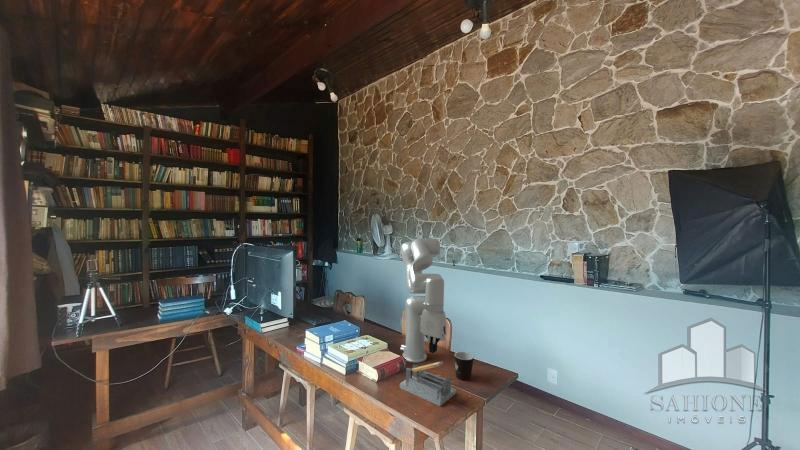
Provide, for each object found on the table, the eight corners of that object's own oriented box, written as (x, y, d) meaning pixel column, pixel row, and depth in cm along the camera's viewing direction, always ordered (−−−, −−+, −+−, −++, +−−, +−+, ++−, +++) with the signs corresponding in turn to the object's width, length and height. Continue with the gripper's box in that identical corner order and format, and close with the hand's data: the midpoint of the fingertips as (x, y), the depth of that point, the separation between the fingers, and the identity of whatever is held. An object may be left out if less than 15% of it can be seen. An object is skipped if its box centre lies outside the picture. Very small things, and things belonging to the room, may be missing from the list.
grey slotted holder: (399, 387, 140) (400, 369, 140) (416, 377, 149) (417, 360, 149) (439, 406, 127) (440, 386, 127) (455, 393, 137) (456, 374, 136)
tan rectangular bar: (409, 374, 142) (408, 370, 143) (414, 371, 145) (412, 367, 145) (439, 367, 132) (437, 362, 133) (443, 364, 135) (442, 360, 136)
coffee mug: (473, 383, 146) (473, 360, 145) (453, 380, 147) (454, 358, 147) (472, 371, 157) (473, 350, 157) (454, 368, 159) (455, 348, 158)
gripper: (414, 305, 137) (412, 349, 138) (445, 312, 128) (443, 360, 128) (424, 302, 143) (423, 344, 144) (454, 309, 134) (453, 354, 134)
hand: (433, 351), depth 136 cm, fingers closed
